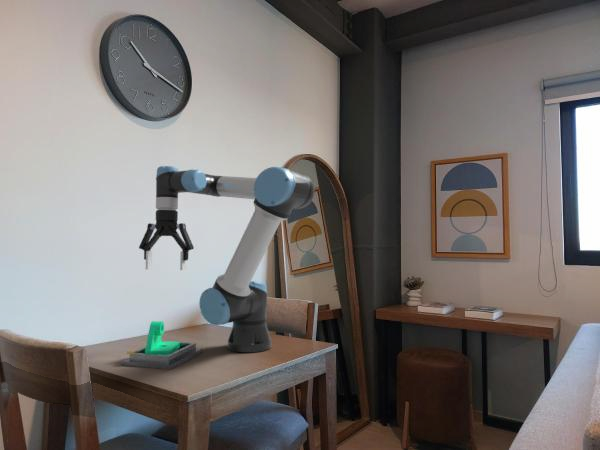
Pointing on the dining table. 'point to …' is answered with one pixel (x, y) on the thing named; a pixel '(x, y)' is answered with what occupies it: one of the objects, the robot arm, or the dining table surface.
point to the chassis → (162, 357)
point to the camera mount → (159, 341)
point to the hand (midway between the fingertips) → (165, 269)
